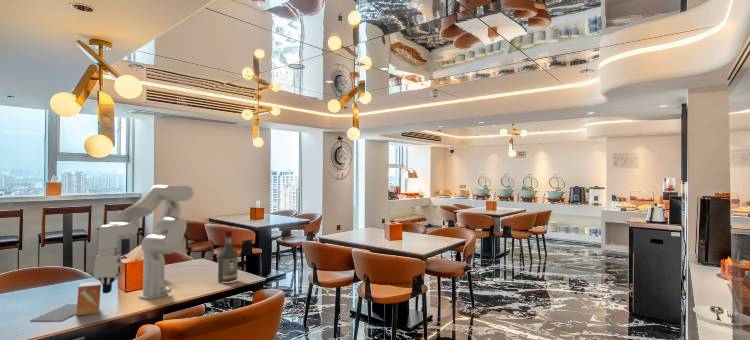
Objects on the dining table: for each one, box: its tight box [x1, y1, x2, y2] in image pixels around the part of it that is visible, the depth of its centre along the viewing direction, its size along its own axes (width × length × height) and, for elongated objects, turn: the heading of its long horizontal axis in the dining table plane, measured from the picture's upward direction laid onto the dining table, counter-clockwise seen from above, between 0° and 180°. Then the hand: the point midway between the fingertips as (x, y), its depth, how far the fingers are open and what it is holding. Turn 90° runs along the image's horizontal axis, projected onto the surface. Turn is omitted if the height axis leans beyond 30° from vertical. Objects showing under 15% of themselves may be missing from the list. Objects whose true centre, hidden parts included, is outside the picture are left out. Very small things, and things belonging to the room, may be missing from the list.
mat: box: [30, 303, 77, 322], centre depth 172 cm, size 13×20×1 cm, turn 1°
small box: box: [76, 281, 102, 317], centre depth 172 cm, size 8×6×13 cm
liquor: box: [217, 230, 239, 283], centre depth 224 cm, size 9×9×30 cm
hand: (107, 292), depth 172 cm, fingers closed
